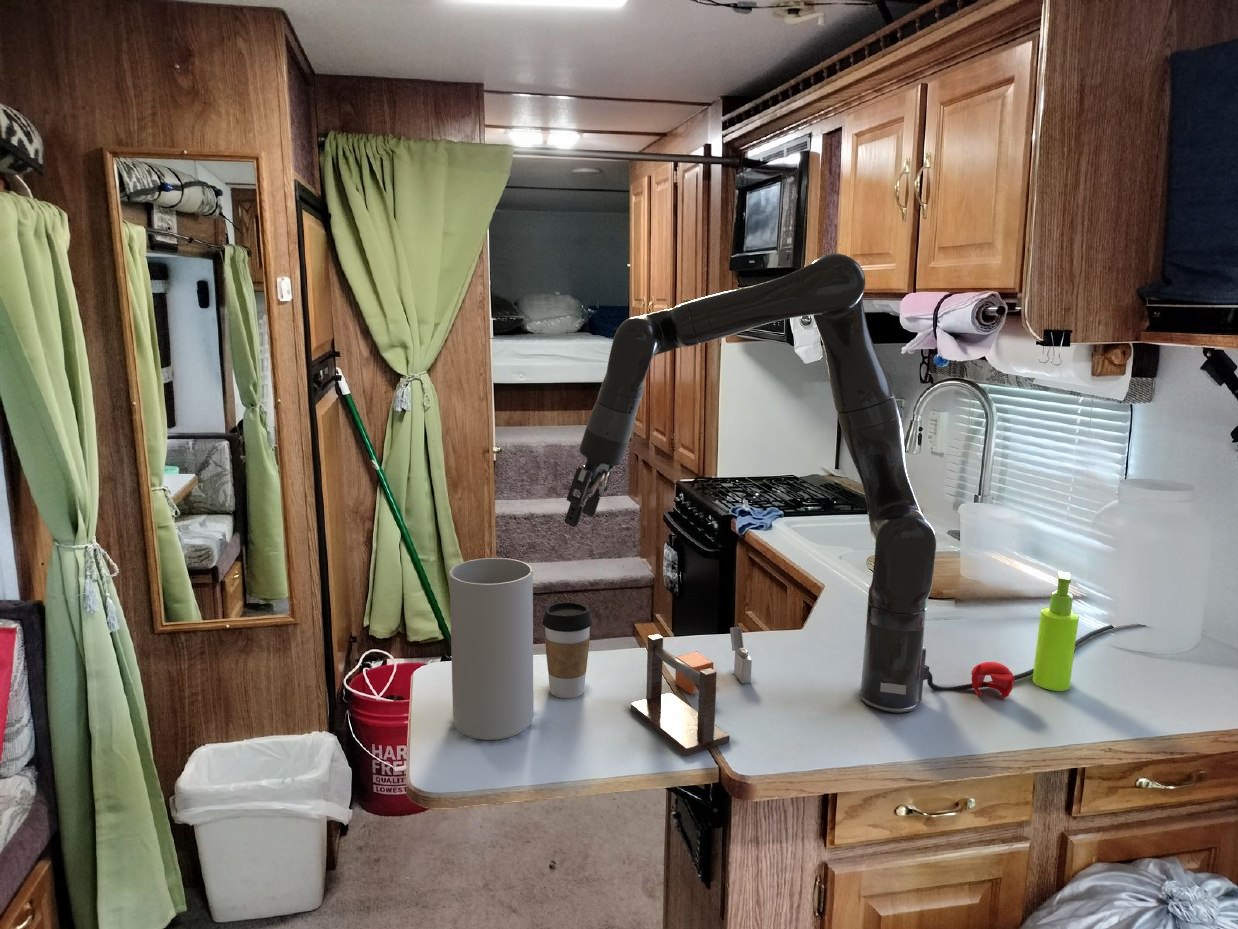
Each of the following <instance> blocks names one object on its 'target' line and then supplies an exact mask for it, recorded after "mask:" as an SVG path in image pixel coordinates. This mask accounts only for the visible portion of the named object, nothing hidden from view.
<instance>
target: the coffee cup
mask: <svg viewBox="0 0 1238 929" xmlns="http://www.w3.org/2000/svg"><path fill="white" fill-rule="evenodd" d="M590 608H591V607H589V606H588V605H586V604H583V603H580V602H577V601H560V602H559V601H558V602H554V603H551V604H549V605H547V606H546V607H545V610H544V615H543V617H542V621H541V622H542V626H543V627H544V631H545V632H544V635H543V636H544V646H545V655H546V664H547V672H548V688H549V692H550V694H551V695H552V696H554V697H556V698H559V699H573V698H578V697H580V696H581V695H583V694H584V692H585V687H586V676H587V675H586V674H587V668H588V659H589V658H588V657H589V649H590V642H591V641H590V640H591V632H590V630H591V629H590V628H591V626H592V625H593V617H592V615H591V609H590Z"/></svg>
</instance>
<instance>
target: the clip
mask: <svg viewBox="0 0 1238 929" xmlns="http://www.w3.org/2000/svg"><path fill="white" fill-rule="evenodd" d="M675 657H676V658H678V659H679V660H681V661H682V662H684V663H685V664H687V665H688V666H690V667H691V668H692V669H694V670H695V671H697V672H698V673H700V671H701V670H705V669H709V668H711V669H713V670H714V661H712V660H711V659H709V658H708V657H706V656H704V655H703V654H701V653H700V652H698V651H693V652H689V653H686V654H680V655H677V656H675ZM674 684H676V685H677V686H678V687H680V688H681V689H682V690H684V691H686V692H687V693H689V694H690V695H692V696H693V695H695V686H696V685H695V684H696V683H694V682H693V681H691V680H690V679H688V678H687V677H685V676H684V675H683V674H681V673H680V672H678V671H677V670H675V677H674Z"/></svg>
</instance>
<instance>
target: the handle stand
mask: <svg viewBox="0 0 1238 929" xmlns="http://www.w3.org/2000/svg"><path fill="white" fill-rule="evenodd" d="M646 649H647V651H646V652H647V654H646V655H647V656H646V657H647V658H646V693H645V695H646V696H645V699H642V700H638V701H634V702H630V711H632V712H633V713H634V714H635V715H636V716H637V717H639V718H640V719H641V720H642V721H643V722H645V724H647V725H649V727H650V728H651V729H653V730H654V731H656V733H658V734H659V735H660V736H661V737H663V738H664V739H665V740H666V741H668V742H669V744H671V745H673V746H674V748H676V749H677V750H678V751H679V752H681V753H682V754H683V755H684V756H686V757H687V756H691V755H693V754H697V753H700V752H703V751H707V750H711V749H713V748H717V747H719V746H722V745H726V744H729V743H730V738H731V736H730V734H728V733H727V732H726V731H724V730H723V729H722V728H721V727H720V726H718V725H717V724H715V723H716V722H715V721H716V697H717V677H718V676H717V674H718V673H717V671H716V670H714V668H713V669H711V668H709V669H705V670H701V671H700V673H698V672H697V671H695V670H694V669H692V668H691V667H690V666H688V665H687V664H685V663H684V662H682V661H681V660H679V659H678V658H676V656H674V655H673V654H672V653H670V652H668V651H667V650H666V649H664V637H663V636H662V635H661V634H659V633H657V634H652V635H648V636H647V648H646ZM663 662H664V663H665V664H667V665H668V666H669V667H671V668H672V669H674V671H676V670H677V671H678V672H680V673H681V674H683V675H684V676H685V677H687V678H688V679H690V680H691V681H693V682H694V683H695V684H696V685H697V686H698V700H697V702H698V703H697V710H696V709H695V708H693V707H692V706H690V705H689V704H688V703H686V702H685V701H684V700H682V699H681V698H680V697H678V696H677V695H676V694H674V693H673V692H668V693H664V694H662V693H663V692H662V691H663Z"/></svg>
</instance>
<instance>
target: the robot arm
mask: <svg viewBox="0 0 1238 929" xmlns="http://www.w3.org/2000/svg"><path fill="white" fill-rule="evenodd" d="M865 275H866V274H865V272H864V270H863V268H862V267H861V265H860V263H858V262H857V261H856V260H855V259H854V258H852V257H851V256H849V255H846V254H844V253H843V254H842V253H834V252H833V253H828V254H825V255H821V256H819V257H817V259H815V260H814V261H812V262H810V264H807V265H806V266H803V267H802V268H799V269H796V270H795V271H793V272H790V273H788V274H786V275H783V276H780V277H778V278H775V279H771V280H768V281H766V282H762V283H759V284H755V285H750V286H746V287H741V288H737V289H732V290H728V291H723V292H719V293H715V294H711V295H707V296H705V297H701V298H696V299H693V300H689V301H687V302H683V303H680V304H678V305H676V306H674V307H673V308H669V309H668V308H667V309H664V310H663V309H662V310H659V311H655V312H651V313H647V314H643V315H637V316H633V317H629V318H627V319H625V320H624V321H622V322H621V323H620V325H619V326H618V328H616V332H615V334H614V337H613V339H612V344H611V347H610V351H609V357H608V362H607V367H606V372H605V375H604V377H603V380H602V383H601V387H600V388H599V391H598V395H597V399H596V401H595V404H594V406H593V408H592V410H591V412H590V414H589V417H588V421H587V424H586V426H585V430H584V432H583V436H582V440H581V443H580V446H579V450H578V451H579V453H580V454H581V455H582V456H584V457H585V458H586V462H585V464H584V465H582V467H580V466H578V467H577V468H576V470H575V474H574V475H573V479H572V482H571V485H570V488H569V490H568V494H567V496H566V501H567V502H569V506H568V509H567V512H566V516H565V518H564V523H565V525H568V526H570V527H572V528H575V527H577V526H578V525H579V522H580V520H581V517H582V514H584V515H586V516H588V517H594V516H595V515H596V512H597V509H598V506H599V503H600V500H601V498H602V497H603V496H604V494H605V493H606V492H607V491H608V490H609V485H610V483H611V479H612V476H613V473H614V470H615V467H616V466H619V465H621V464H622V462H623V461H624V457H625V455H626V454H625V453H626V451H627V448H628V445H629V442H630V439H631V436H632V433H633V431H634V427H635V422H636V417H637V413H638V411H639V407H640V406H641V405H640V404H641V401H642V398H643V395H644V392H645V386H646V385H645V380H646V377H647V375H648V372H649V369H650V366H651V363H652V360H653V358H654V356H658V355H661V354H664V353H668V352H670V351H674V350H678V349H680V348H683V347H684V348H685V347H687V348H688V347H695V346H699V345H702V344H706V343H710V342H713V341H717V340H720V339H724V338H727V337H730V336H734V335H737V334H740V333H742V332H747V331H749V330H752V329H755V328H759V327H761V326H765V325H767V324H768V325H769V324H771V323H775V322H779V321H784V320H789V319H794V318H799V317H800V318H801V317H809V316H812V317H813V320H814V322H815V325H816V328H817V331H818V333H819V335H820V338H821V341H822V344H823V345H822V346H823V349H824V353H825V357H826V366H827V372H828V378H829V384H830V388H831V393H832V398H833V402H834V403H833V404H834V408H835V412H836V415H837V419H838V422H839V425H840V429H841V432H842V436H843V439H844V442H845V445H846V447H847V449H848V452H849V455H850V457H851V460H852V462H853V465H854V467H855V470H856V471H857V474H858V476H859V479H860V482H861V485H862V488H863V493H864V498H865V502H866V508H867V516H868V523H869V529H870V536H871V541H872V543H873V546H874V557H873V558H874V560H873V569H872V579H871V583H870V584H869V587H868V593H867V594H868V595H867V609H866V622H865V635H864V645H863V646H864V647H863V656H862V657H863V658H862V671H861V681H860V682H861V683H860V691H859V697H860V700H861V701H862V702H863V703H864V704H866V705H867V706H869V707H871V708H873V709H876V710H879V711H882V712H886V713H892V714H893V713H895V714H896V713H897V714H899V713H900V714H902V713H903V714H904V713H909V712H913V711H915V710H916V709H917V708H918V706H919V703H920V702H922V700H923V698H922V697H923V688H924V681H926V680H927V685H928V687H929V688H930V689H932V690H934V691H952V692H953V691H955V692H956V691H958V692H959V691H961V692H962V691H965V690H966V691H967V690H972V689H973V690H974V688H973V687H972V683H966V684H961V685H956V686H940V685H937V684H935V683H934V682H933V681H934V680H933V679H934V678H933V674H932V673H931V671H930V665H927V664H926V657H927V656H926V655H927V649H926V648H925V646H924V640H925V639H924V638H925V630H926V619H927V618H926V617H927V607H928V599H929V596H930V595H931V592H932V588H933V581H934V580H933V579H934V573H935V563H936V553H937V538H936V533H935V530H934V528H933V526H932V525H931V524H930V522H929V521H928V520H927V518H926V517H925V516H924V514H923V512H922V510H921V508H920V505H919V503H918V501H917V498H916V496H915V494H914V490H913V488H912V485H911V482H910V478H909V477H908V472H907V467H906V454H905V453H906V451H905V440H904V430H903V425H902V418H901V414H900V411H899V408H898V404H897V400H896V396H895V393H894V389H893V387H892V384H891V381H890V378H889V375H888V373H887V371H886V368H885V366H884V364H883V361H882V359H881V357H880V355H879V353H878V351H877V349H876V347H875V345H874V343H873V340H872V338H871V334H870V331H869V327H868V323H867V318H866V312H865V306H864V301H863V296H864V292H865V289H866V276H865ZM578 495H579V496H578ZM1111 630H1115V628H1114V627H1113V626H1112V624H1109V625H1106V626H1102V627H1099V628H1096V629H1095V630H1092V631H1090V632H1088V633H1087V634H1084V635H1083V636H1081V637H1080V638H1078V639H1076V642H1075V648H1077V647H1078V646H1080V645H1081V644H1082V643H1084V642H1085V641H1087V640H1089V639H1090V638H1092V637H1094V636H1096V635H1099V634H1101V633H1104V632H1107V631H1111ZM1033 672H1034V668H1032V669H1029V670H1026V671H1024V672H1021V673H1019V674H1018V673H1017V674H1015V675H1014V674H1013V676H1014V682H1015V681H1018V680H1022V679H1024V678H1028V677H1030V676H1033ZM988 682H991V683H993V681H992V680H989V681H988ZM981 688H988V687H987V684H986V683H982V684H981V686H980V688H979V689H981Z"/></svg>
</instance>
